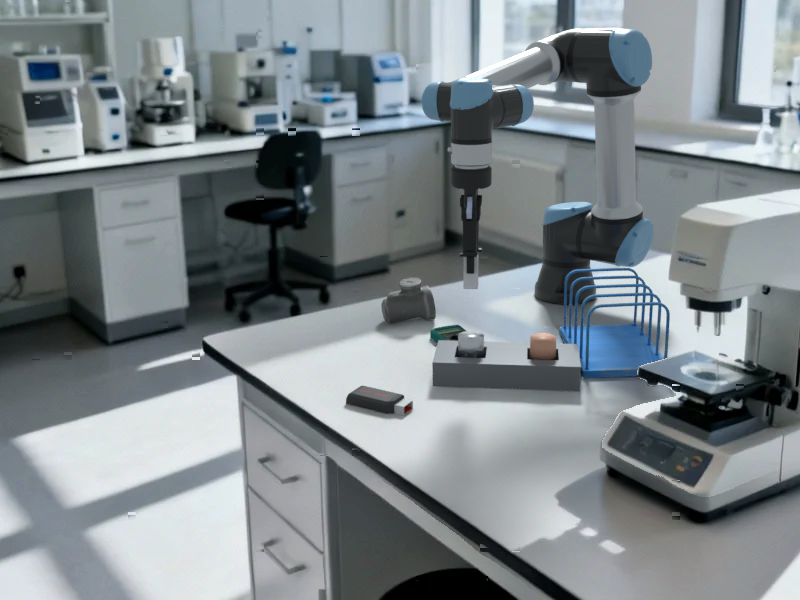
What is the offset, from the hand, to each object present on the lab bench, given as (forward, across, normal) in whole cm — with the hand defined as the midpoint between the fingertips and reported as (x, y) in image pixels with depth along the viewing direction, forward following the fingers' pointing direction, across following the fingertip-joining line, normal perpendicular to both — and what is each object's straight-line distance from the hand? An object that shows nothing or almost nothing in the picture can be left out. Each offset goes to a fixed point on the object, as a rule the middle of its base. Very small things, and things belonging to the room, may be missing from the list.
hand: (470, 287), depth 178 cm
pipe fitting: (+19, -31, -16) cm, 40 cm away
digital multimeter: (+19, -16, -4) cm, 25 cm away
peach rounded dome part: (+14, 0, +14) cm, 20 cm away
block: (+18, 0, +7) cm, 20 cm away
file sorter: (+19, -14, +28) cm, 37 cm away
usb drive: (+19, +15, -16) cm, 29 cm away
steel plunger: (+14, 0, 0) cm, 14 cm away
